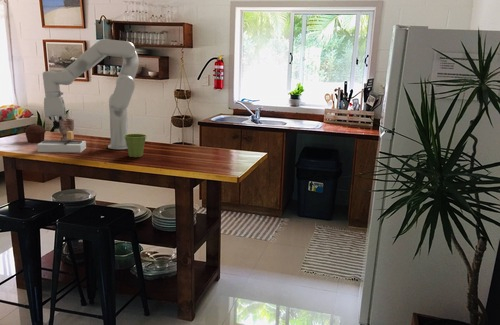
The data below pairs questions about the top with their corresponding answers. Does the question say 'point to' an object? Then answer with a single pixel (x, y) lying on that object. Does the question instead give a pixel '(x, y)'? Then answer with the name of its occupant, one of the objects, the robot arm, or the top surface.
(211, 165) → the top surface
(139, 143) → the plant pot
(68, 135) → the slider tab
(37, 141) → the muffin
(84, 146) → the control panel
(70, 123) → the mortar and pestle
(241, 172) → the top surface
